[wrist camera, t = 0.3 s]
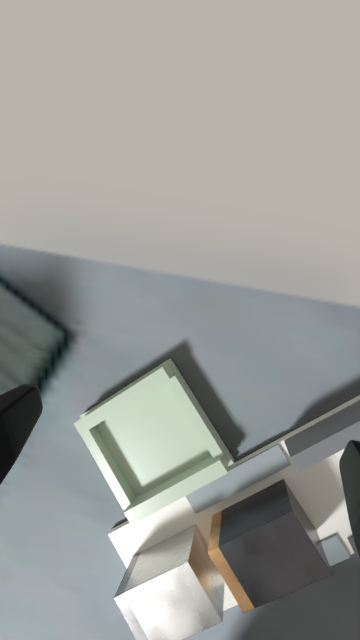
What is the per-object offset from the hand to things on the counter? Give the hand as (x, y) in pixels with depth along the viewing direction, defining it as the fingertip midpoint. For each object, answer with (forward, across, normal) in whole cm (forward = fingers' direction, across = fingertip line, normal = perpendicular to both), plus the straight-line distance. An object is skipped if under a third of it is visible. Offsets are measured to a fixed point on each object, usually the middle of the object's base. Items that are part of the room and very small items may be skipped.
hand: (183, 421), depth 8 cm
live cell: (+7, -6, +16) cm, 18 cm away
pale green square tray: (+10, +3, +12) cm, 16 cm away
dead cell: (+5, 0, +20) cm, 21 cm away
